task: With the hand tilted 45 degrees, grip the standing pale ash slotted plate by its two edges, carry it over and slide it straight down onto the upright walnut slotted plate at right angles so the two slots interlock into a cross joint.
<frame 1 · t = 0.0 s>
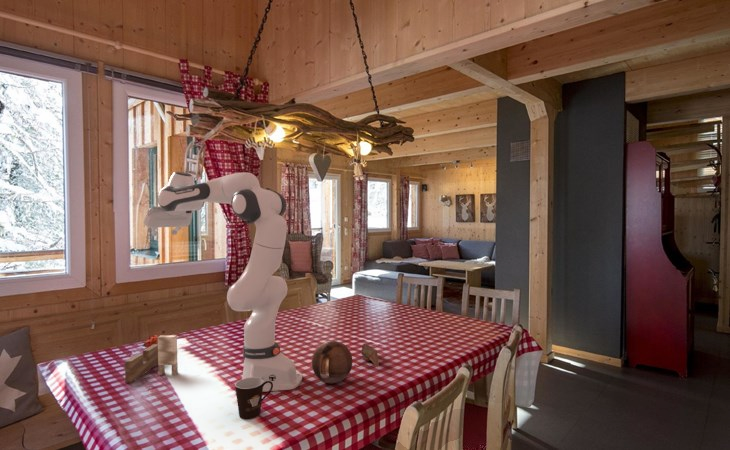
hand: (164, 234, 178), 54 cm above the table, tool tilted 30°, fingers open, 8 cm apart
ash slotted plate: (168, 373, 160), on the table
coffee mug: (254, 414, 127), on the table
walnut slotted plate: (143, 372, 162), on the table
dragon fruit: (157, 351, 188), on the table
wooden sphere: (332, 382, 151), on the table
bird sculpture: (370, 362, 170), on the table
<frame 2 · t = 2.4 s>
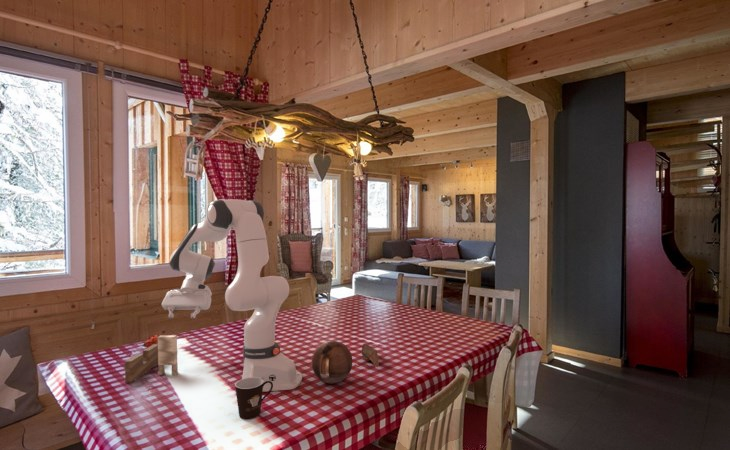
hand: (181, 317, 172), 19 cm above the table, tool tilted 45°, fingers open, 8 cm apart
nothing on the table moved.
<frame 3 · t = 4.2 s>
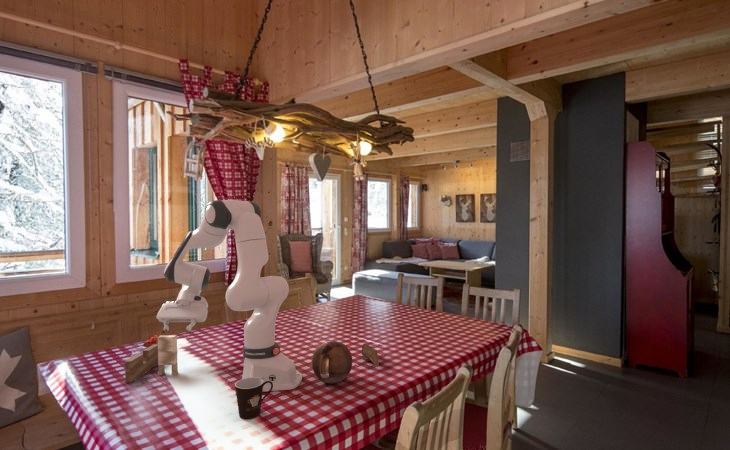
hand: (176, 330, 167), 15 cm above the table, tool tilted 45°, fingers open, 8 cm apart
nothing on the table moved.
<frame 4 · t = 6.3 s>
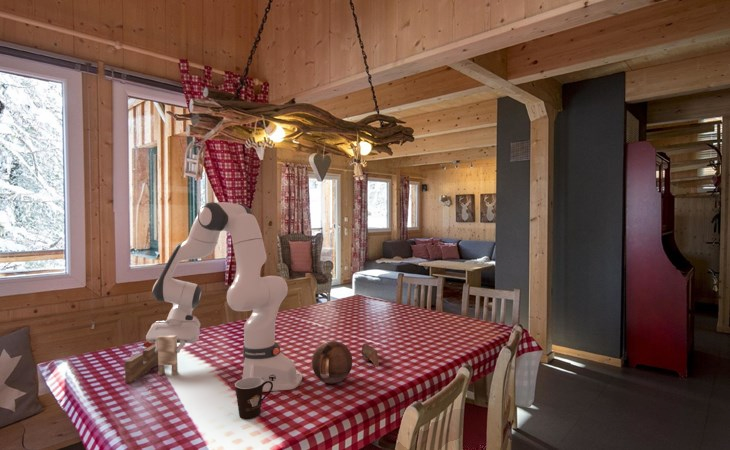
hand: (166, 352, 159), 9 cm above the table, tool tilted 45°, fingers closed on ash slotted plate, 6 cm apart
ash slotted plate: (168, 373, 160), on the table, touching gripper
everything else where it was.
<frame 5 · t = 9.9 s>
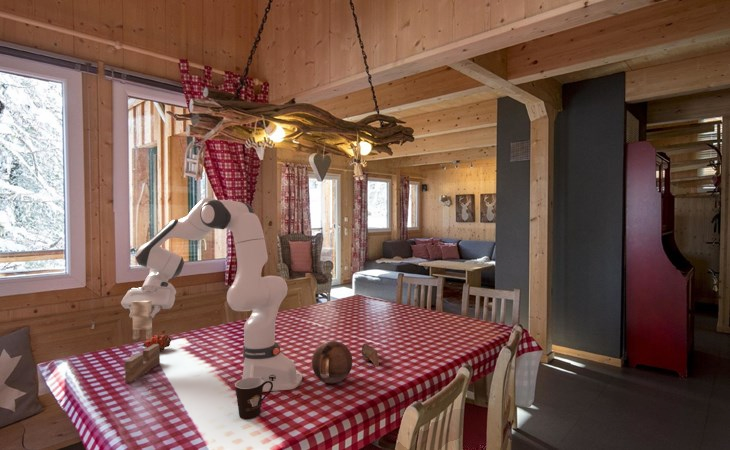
hand: (141, 316, 161), 22 cm above the table, tool tilted 45°, fingers closed on ash slotted plate, 6 cm apart
ash slotted plate: (142, 338, 162), point 14 cm above the table, touching gripper
everything else where it was.
when the fingers open (10 cm above the table, at t = 13.4 s): ash slotted plate stays where it is, resting on walnut slotted plate.
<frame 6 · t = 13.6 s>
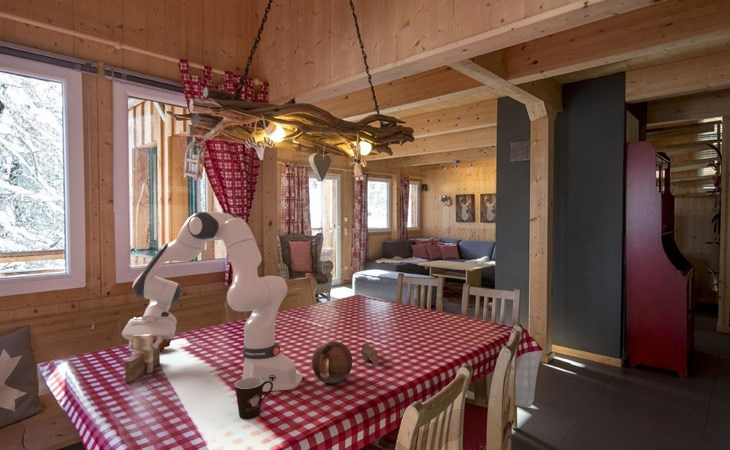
hand: (142, 348, 162), 10 cm above the table, tool tilted 45°, fingers open, 8 cm apart
ash slotted plate: (143, 372, 162), resting on walnut slotted plate
everything else where it was.
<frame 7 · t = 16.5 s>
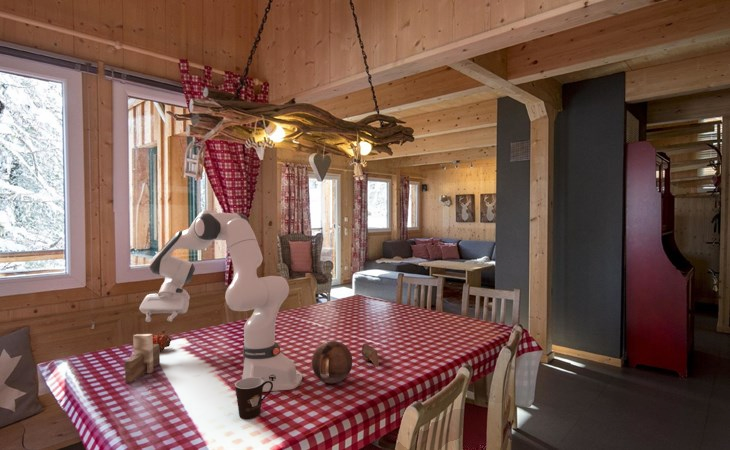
hand: (158, 321, 174), 17 cm above the table, tool tilted 45°, fingers open, 8 cm apart
nothing on the table moved.
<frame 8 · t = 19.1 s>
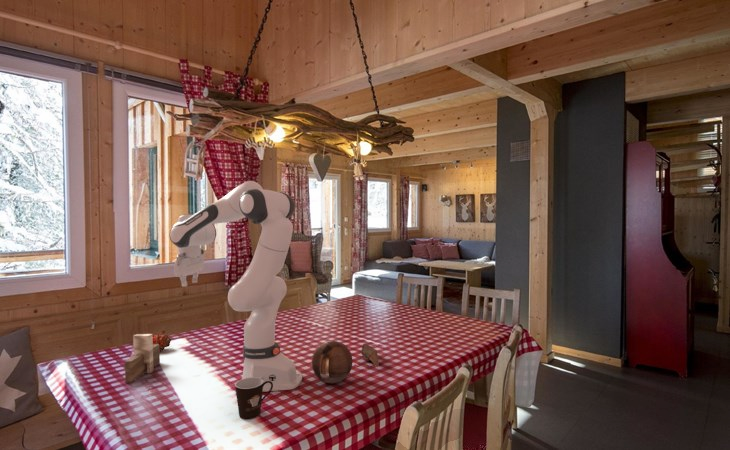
hand: (189, 284, 173), 33 cm above the table, tool pointing down, fingers open, 8 cm apart
nothing on the table moved.
at the end: ash slotted plate 0.1 cm off-centre on the walnut slotted plate, point 0.0 cm above the walnut slotted plate's base; ash slotted plate tilted 0°; the gripper is holding nothing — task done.
